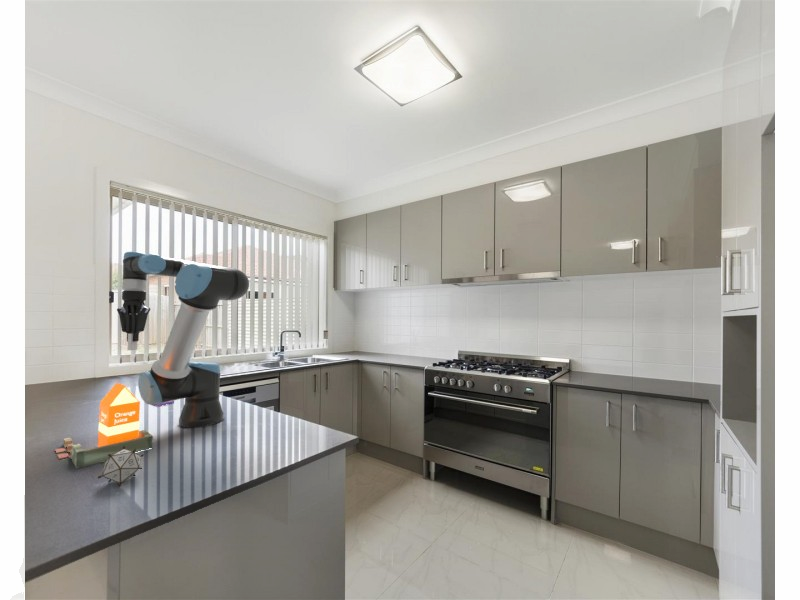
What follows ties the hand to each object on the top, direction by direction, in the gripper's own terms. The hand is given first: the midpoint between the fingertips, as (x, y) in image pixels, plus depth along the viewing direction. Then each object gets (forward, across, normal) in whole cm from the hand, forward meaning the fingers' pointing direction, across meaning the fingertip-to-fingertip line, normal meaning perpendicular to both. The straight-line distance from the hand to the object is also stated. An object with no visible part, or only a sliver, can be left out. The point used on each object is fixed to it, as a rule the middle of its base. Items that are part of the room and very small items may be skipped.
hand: (132, 349), depth 132 cm
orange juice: (+29, -22, +25) cm, 44 cm away
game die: (+30, -42, +42) cm, 67 cm away
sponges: (+28, +12, -27) cm, 41 cm away
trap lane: (+29, -17, +24) cm, 41 cm away
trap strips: (+28, -9, +30) cm, 42 cm away
